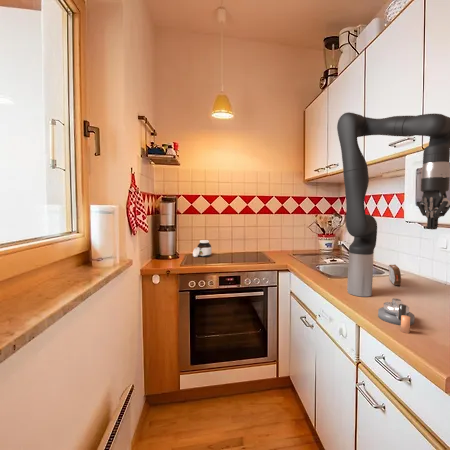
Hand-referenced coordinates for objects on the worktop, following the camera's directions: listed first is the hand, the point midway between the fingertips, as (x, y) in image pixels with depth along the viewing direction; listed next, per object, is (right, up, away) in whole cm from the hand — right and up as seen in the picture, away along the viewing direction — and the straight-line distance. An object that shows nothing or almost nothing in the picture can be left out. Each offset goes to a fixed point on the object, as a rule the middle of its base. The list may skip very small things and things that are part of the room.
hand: (432, 229), depth 92 cm
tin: (+11, -27, +39) cm, 49 cm away
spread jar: (-86, -22, +107) cm, 140 cm away
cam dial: (-15, -27, -5) cm, 31 cm away
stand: (-14, -29, -5) cm, 33 cm away
